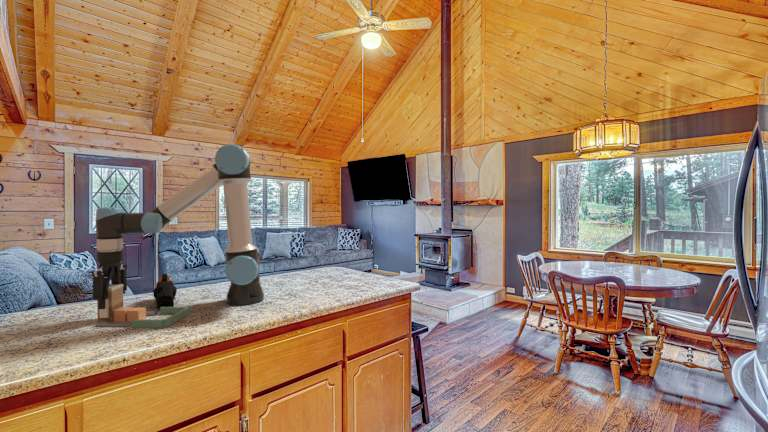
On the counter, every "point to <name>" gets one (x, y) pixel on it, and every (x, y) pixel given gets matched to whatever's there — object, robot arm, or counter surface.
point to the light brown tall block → (113, 301)
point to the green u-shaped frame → (178, 314)
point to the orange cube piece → (136, 314)
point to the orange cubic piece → (121, 314)
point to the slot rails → (121, 324)
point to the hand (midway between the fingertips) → (111, 314)
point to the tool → (164, 292)
